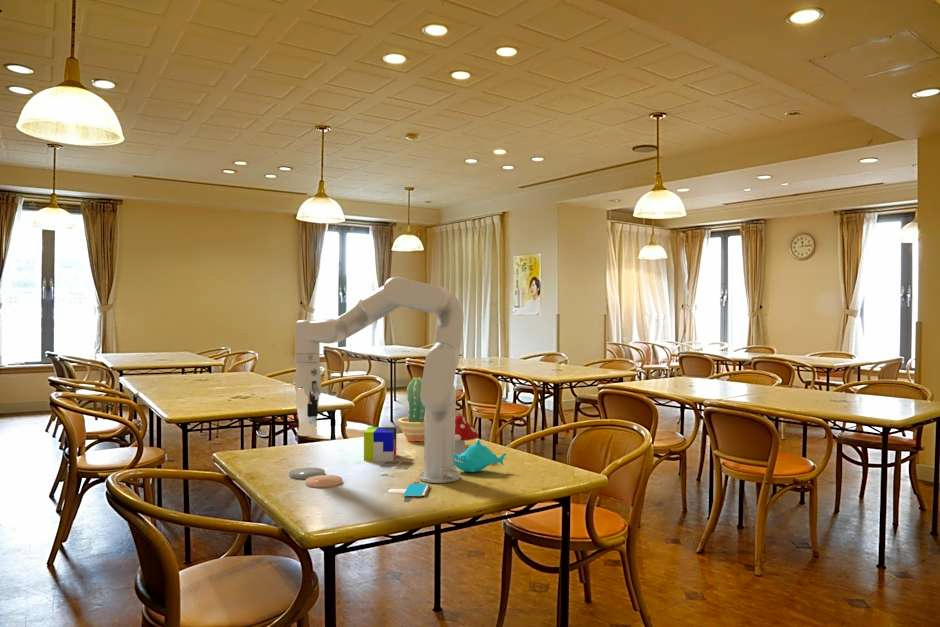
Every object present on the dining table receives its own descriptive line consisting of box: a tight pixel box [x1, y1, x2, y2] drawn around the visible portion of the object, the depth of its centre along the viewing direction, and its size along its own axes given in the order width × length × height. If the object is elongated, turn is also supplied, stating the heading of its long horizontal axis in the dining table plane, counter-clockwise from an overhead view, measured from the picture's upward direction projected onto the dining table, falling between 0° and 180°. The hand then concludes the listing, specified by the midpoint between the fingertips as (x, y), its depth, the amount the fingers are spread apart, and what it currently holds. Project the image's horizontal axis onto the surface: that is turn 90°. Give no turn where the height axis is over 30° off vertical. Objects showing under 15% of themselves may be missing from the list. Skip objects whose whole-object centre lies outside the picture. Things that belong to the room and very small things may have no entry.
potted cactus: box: [397, 377, 425, 442], centre depth 267 cm, size 15×15×25 cm
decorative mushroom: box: [455, 414, 479, 455], centre depth 237 cm, size 14×14×15 cm
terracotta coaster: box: [304, 474, 343, 489], centre depth 201 cm, size 11×11×1 cm
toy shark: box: [455, 438, 507, 473], centre depth 215 cm, size 10×18×11 cm, turn 91°
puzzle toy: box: [363, 426, 397, 462], centre depth 235 cm, size 10×10×10 cm
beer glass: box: [295, 387, 320, 437], centre depth 210 cm, size 7×7×15 cm
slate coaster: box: [288, 467, 326, 480], centre depth 210 cm, size 11×11×1 cm
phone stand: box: [387, 481, 431, 502], centre depth 192 cm, size 20×12×2 cm, turn 176°
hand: (307, 414), depth 210 cm, fingers closed on beer glass, 6 cm apart
